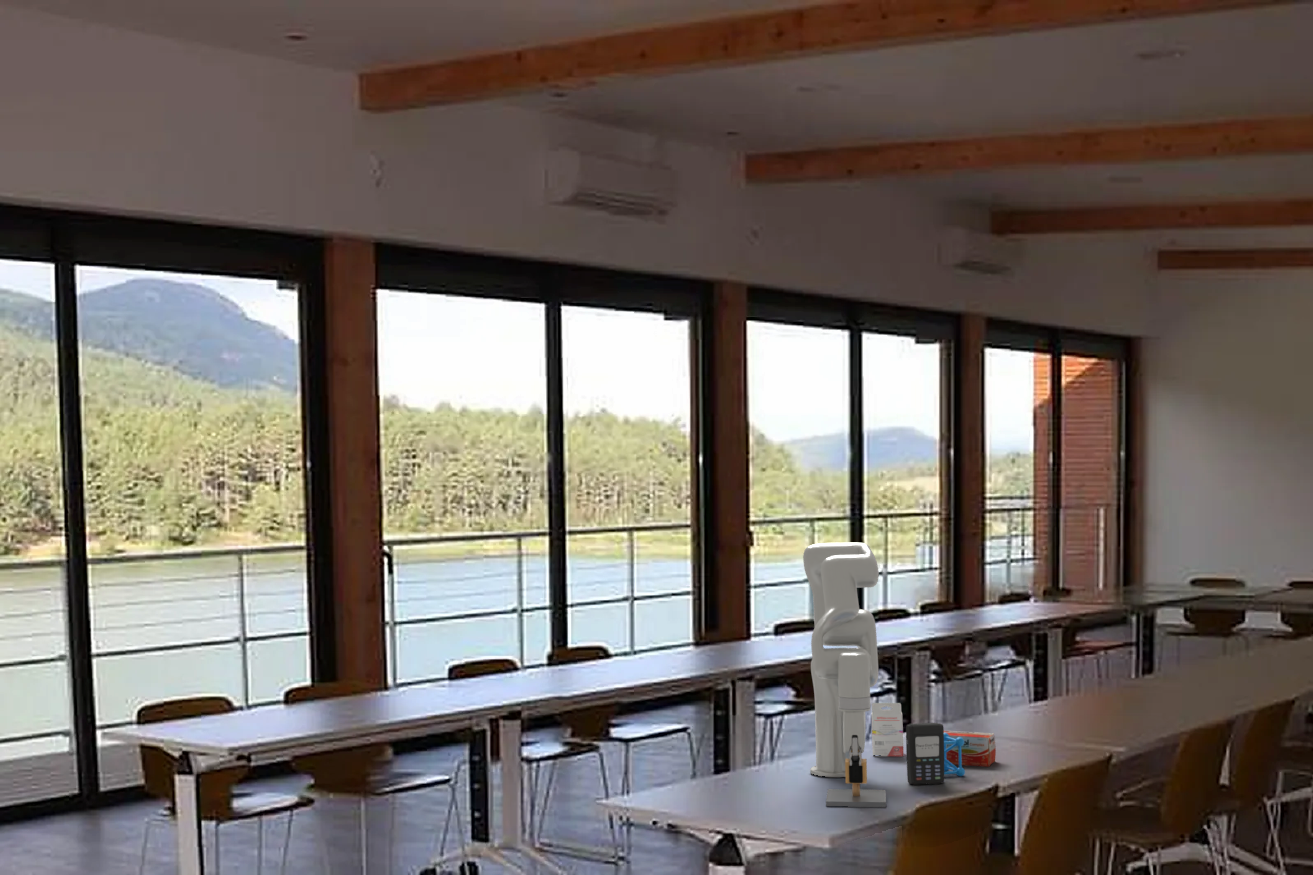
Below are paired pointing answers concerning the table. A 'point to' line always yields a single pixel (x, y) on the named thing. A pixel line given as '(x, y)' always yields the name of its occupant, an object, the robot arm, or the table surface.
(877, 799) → the plate
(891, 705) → the ink cartridge box
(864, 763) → the tan wooden cube
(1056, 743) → the table surface
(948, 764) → the molecular structure
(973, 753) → the medicine box
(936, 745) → the card reader
